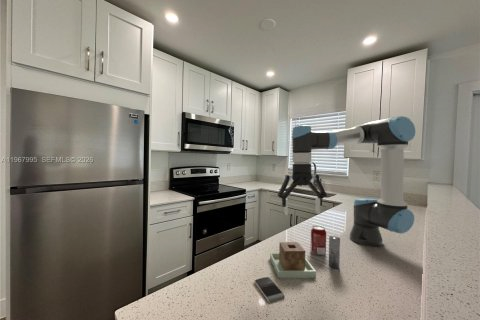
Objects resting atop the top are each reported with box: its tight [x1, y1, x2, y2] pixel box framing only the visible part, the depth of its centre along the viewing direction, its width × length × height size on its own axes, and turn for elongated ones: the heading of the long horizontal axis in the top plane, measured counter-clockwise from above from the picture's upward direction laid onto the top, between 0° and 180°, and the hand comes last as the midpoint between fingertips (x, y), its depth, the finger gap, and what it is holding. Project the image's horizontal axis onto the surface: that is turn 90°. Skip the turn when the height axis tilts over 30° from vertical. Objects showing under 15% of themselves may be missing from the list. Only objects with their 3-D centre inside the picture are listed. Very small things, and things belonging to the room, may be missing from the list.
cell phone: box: [253, 276, 286, 304], centre depth 65 cm, size 6×11×1 cm, turn 21°
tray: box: [269, 252, 317, 280], centre depth 79 cm, size 14×14×2 cm
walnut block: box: [278, 241, 306, 271], centre depth 79 cm, size 8×8×8 cm
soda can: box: [310, 225, 327, 256], centre depth 92 cm, size 7×7×12 cm
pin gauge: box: [328, 235, 341, 271], centre depth 80 cm, size 4×4×12 cm
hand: (302, 213), depth 81 cm, fingers open, 13 cm apart
